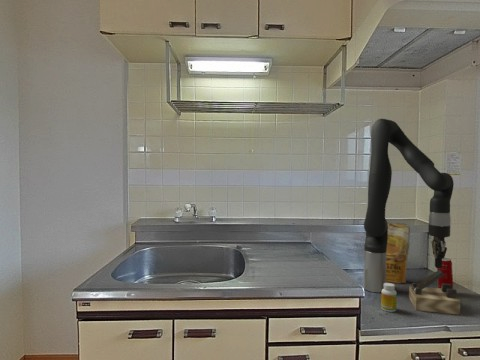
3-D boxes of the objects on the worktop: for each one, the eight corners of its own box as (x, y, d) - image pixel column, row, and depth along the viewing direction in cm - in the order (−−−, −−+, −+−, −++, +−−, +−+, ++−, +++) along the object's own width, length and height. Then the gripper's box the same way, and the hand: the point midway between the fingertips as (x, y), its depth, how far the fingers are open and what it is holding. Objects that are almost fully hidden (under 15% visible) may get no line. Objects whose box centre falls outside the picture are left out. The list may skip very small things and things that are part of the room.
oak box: (415, 310, 139) (416, 289, 139) (409, 297, 153) (409, 278, 152) (459, 314, 135) (460, 293, 135) (448, 301, 149) (449, 281, 148)
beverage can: (455, 296, 155) (456, 261, 154) (438, 295, 156) (439, 260, 155) (450, 291, 160) (451, 257, 160) (434, 290, 162) (435, 256, 161)
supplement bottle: (394, 313, 136) (395, 287, 136) (379, 310, 139) (380, 285, 139) (397, 308, 141) (397, 283, 140) (382, 305, 143) (383, 281, 143)
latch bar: (416, 293, 143) (414, 290, 144) (414, 289, 147) (412, 287, 147) (444, 274, 141) (442, 272, 141) (441, 272, 145) (439, 269, 145)
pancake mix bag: (366, 276, 182) (367, 220, 181) (408, 281, 175) (409, 223, 174) (365, 279, 176) (366, 222, 175) (408, 285, 169) (410, 225, 167)
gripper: (424, 220, 150) (423, 262, 150) (433, 225, 137) (432, 271, 138) (445, 221, 148) (444, 263, 148) (455, 226, 135) (454, 273, 136)
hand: (438, 267), depth 143 cm, fingers closed
